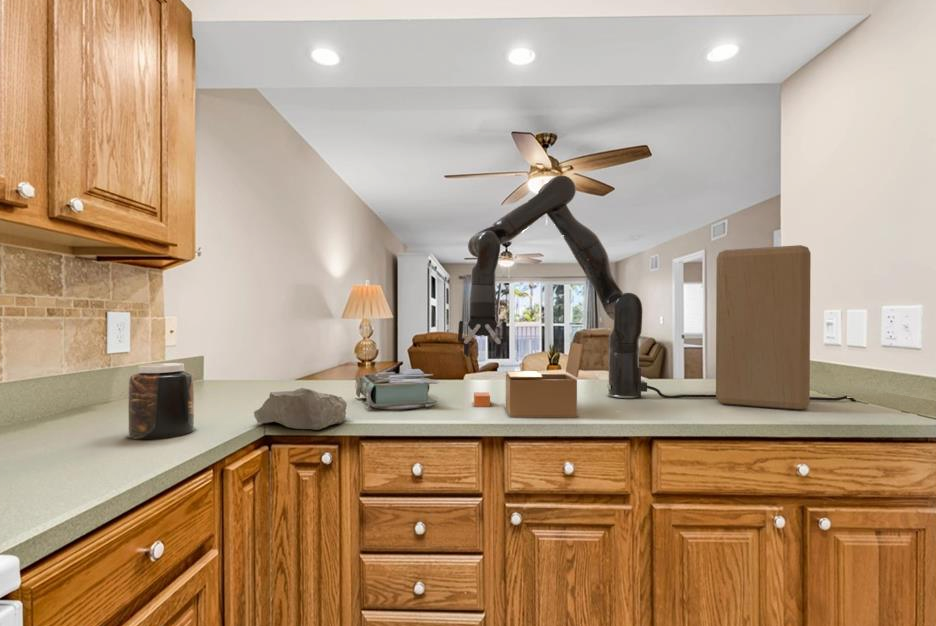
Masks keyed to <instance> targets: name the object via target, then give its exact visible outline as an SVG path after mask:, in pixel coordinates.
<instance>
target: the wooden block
mask: <svg viewBox="0 0 936 626" xmlns="http://www.w3.org/2000/svg"><path fill="white" fill-rule="evenodd" d="M811 254H812V253H811V251H810V249H809V247H808V246H804V245H801V244H797V245H796V244H795V245H783V246H782V245H781V246H766V247H764V246H763V247H751V248H749V247H747V248H736V249H735V248H732V249H724V250H722V251H720V252H718V254H717V256H716V268H715V269H716V274H715V275H716V279H715V281H716V282H715V283H716V286H715V289H716V290H715V291H716V293H715V295H716V296H715V297H716V300H715V302H716V303H715V304H716V305H715V306H716V307H715V308H716V309H715V329H716V330H715V395H716V397H715V398H716V400H717V402H718V403H720V404H723V405H724V406H725V405H726V406H736V407H737V406H739V407H751V408H765V409H778V410H788V411H789V410H791V411H803V410H806V409H808V406H809V405H810V401H811V400H810V397H811V395H810V392H811V391H810V388H811V386H810V383H811V264H812V263H811V259H812V258H811V256H812V255H811Z"/></svg>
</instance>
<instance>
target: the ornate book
mask: <svg viewBox="0 0 936 626" xmlns="http://www.w3.org/2000/svg"><path fill="white" fill-rule="evenodd" d="M430 376H431V377H432V376H434V373H425V372H424V371H422V370H421V369H420V368H406V369H404V370H402V371H400V372H399V373H396V371H390V372H387V371H381V372H374V373H366V374H365V375H364V374H363V376H361V377H360V374H357V376H356V377H355V383H354V384H355V385H354V386H355V394H356V396H357V397H358V398H360V397H361V396H363V397H364V398H365V400H366V401H365V402H366V405H367V406H369V407H371V408H375V409H381V410H411V409H419V408H424V407H425V408H428V407H431V406H433V405H435V404H438V403H439V401H438V400H436V399H434V398H432V397H431V396H429V391H430V385H435V384H436V385H438V384H446V382H444V381H439V380H436V379H431V378H427V377H430Z"/></svg>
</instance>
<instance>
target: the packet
mask: <svg viewBox="0 0 936 626" xmlns="http://www.w3.org/2000/svg"><path fill="white" fill-rule="evenodd" d="M473 406H474V407H480V408H481V407H482V408H483V407H485V408H487V407H489V408H490V407H491V394H490V392H487V391H486V392H483V391H481V392H480V391H479V392H478V391H475V392H473Z"/></svg>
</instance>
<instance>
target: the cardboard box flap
mask: <svg viewBox="0 0 936 626" xmlns="http://www.w3.org/2000/svg"><path fill="white" fill-rule="evenodd" d="M583 350H584V344H581V343H576V342H571V341H570V346H569V351H568V356H567V361H566V368H565V372H566V373H568V374H569V375H572V376H573V377H575V378H578V377H579V372H580V366H581V361H582V357H583Z"/></svg>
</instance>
